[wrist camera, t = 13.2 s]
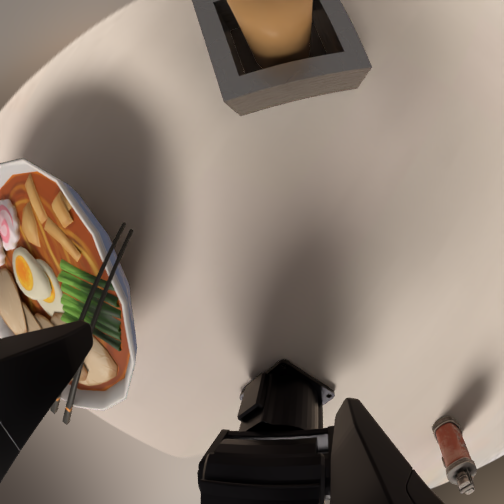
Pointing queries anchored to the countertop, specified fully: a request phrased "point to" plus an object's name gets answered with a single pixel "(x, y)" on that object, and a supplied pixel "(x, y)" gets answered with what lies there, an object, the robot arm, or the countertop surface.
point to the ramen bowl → (65, 280)
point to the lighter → (455, 454)
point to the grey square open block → (288, 74)
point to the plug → (275, 29)
